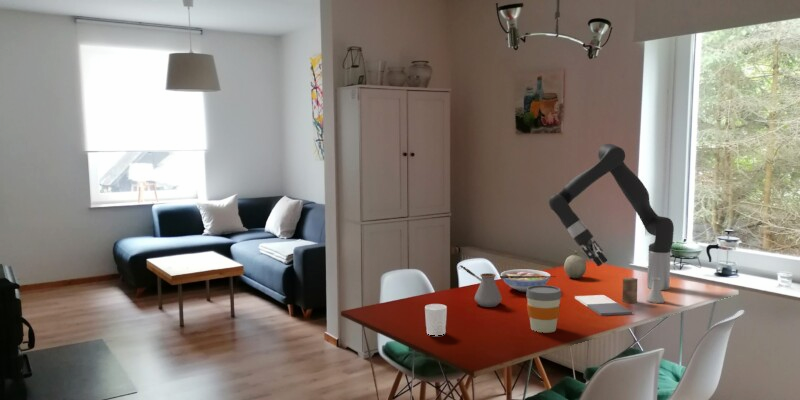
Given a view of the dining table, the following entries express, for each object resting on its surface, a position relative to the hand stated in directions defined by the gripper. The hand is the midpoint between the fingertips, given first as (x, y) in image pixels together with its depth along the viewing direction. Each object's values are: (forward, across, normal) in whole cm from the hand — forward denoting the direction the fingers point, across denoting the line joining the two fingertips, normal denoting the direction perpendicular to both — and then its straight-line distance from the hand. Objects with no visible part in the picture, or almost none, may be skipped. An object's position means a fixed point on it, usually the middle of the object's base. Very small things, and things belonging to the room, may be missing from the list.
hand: (603, 263), depth 261 cm
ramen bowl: (-9, -1, +37) cm, 38 cm away
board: (+14, -11, +8) cm, 19 cm away
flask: (+25, +6, -6) cm, 27 cm away
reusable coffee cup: (+7, -52, +17) cm, 55 cm away
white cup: (-13, -76, +42) cm, 88 cm away
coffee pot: (-15, -31, +45) cm, 56 cm away
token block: (+19, 0, +1) cm, 19 cm away
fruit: (-1, +33, +26) cm, 43 cm away
